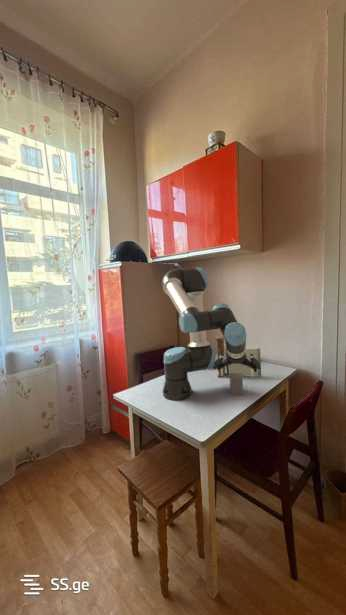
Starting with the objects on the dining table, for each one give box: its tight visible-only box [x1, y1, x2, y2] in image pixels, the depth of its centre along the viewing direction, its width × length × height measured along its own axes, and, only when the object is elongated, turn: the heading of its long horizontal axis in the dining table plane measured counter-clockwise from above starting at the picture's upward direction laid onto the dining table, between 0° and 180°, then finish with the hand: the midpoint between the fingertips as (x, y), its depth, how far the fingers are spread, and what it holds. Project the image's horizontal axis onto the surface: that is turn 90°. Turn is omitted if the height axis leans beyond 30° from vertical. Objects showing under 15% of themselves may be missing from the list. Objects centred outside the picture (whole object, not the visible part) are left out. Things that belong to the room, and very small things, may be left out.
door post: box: [215, 336, 228, 379], centre depth 147 cm, size 5×5×23 cm
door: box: [225, 347, 262, 377], centre depth 144 cm, size 19×2×16 cm, turn 77°
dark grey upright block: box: [229, 373, 244, 396], centre depth 125 cm, size 6×6×9 cm
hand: (237, 373), depth 116 cm, fingers open, 13 cm apart
